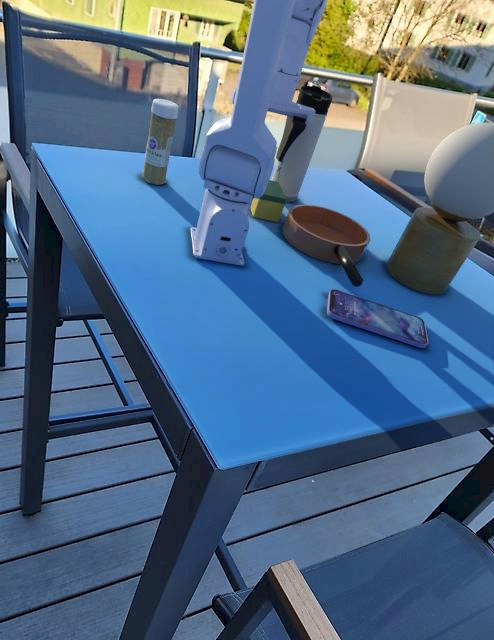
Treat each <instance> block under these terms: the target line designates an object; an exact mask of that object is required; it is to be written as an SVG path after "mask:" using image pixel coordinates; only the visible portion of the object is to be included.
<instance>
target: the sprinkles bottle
mask: <svg viewBox="0 0 494 640" xmlns="http://www.w3.org/2000/svg"><path fill="white" fill-rule="evenodd" d="M150 109H151V110H150V111H151V118H150V124H149V131H148V138H147V142H146V147H145V153H144V155H145V156H144V164H143V171H142V174H141V178H142V180H144V181H145V182H146V183H148V184H152V185H159V186H160V185H164V184H165V183H166V181H167V171H168V168H169V167H168V166H169V163H170V157H171V151H172V147H173V139H174V131H175V127H176V121H177V119H178V116H179V109H180V106H179V105H178V103H175V102H173V101H172V100H168V99H164V98H154V99H152V102H151V108H150Z"/></svg>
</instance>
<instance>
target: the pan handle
mask: <svg viewBox="0 0 494 640" xmlns="http://www.w3.org/2000/svg"><path fill="white" fill-rule="evenodd" d="M334 253H335V254H336V256H337V258H338V260H339V262H340V264H339V265H341V267H342V270H343V271H344V273H345V275H346V276H347V278H348V280H349V282H350V283H351V286H352V287H355V288H358V287H360V286H362V285H363V283H364V278H363V276H362V275H361V273H360V271H359V270H358V269H359V268H358V267H357V266H356V264H355V263H354V262H353V261H352V259H351V257H350V256H349V254H348V252H347V251H346V249H345V247H344V246H343V245H341V244H340V245H337V246H336V247H335V248H334Z"/></svg>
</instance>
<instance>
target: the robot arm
mask: <svg viewBox="0 0 494 640" xmlns="http://www.w3.org/2000/svg"><path fill="white" fill-rule="evenodd" d="M327 3H328V0H253V5H252V10H251V15H250V19H249V25H248V30H247V34H246V40H245V43H244V44H245V45H244V50H243V55H242V60H241V65H240V70H239V75H238V80H237V85H236V87H235V88H233V90H232V93H231V98H230V102H231V104H232V110H231V115H229V116H226V117H224V118H221V119H219V120H217V121H216V122H214V123H213V125H212V126H211V127H210V129H209V131H207V134H206V137H205V142H204V146H203V149H202V151H201V155H200V159H199V163H198V175H199V176H200V180H202V181H204V182H203V188H204V189H205V190H204V195H203V198H202V203H201V207H200V211H199V215H198V220H197V224H196V227H195V226H191V227H190V238H191V245H192V255H193V257H194V258H196V259H201V260H208V261H211V262H212V261H213V262H218V263H223V264H224V263H225V264H231V265H235V266H245V259H244V255H243V248H244V246H245V242H246V239H247V235H248V233H249V229H250V221H249V213H250V211H251V209H250V207H251V204H252V201H253V199H254V198H256V199H258V198H259V197H262V196H263V194H264V192H265V190H266V187H267V185H268V182H269V180H271V176H272V174H273V173H272V172H273V171H274V170H273V169H274V165H275V161H280V162H282V160H283V158H284V156H285V154H286V152H287V151H288V149H289V148H290V146H291V145H292V144H293V142H294V141H295V140H296V139H297V137H298V136H299V135H300V134H301V133H302V132H303V131H304V130H305V128H306V123H305V122H309V123H312V120H313V117H314V114H315V110H314V109H313V108H310V107H307V106H303V105H300V104H297V103H296V102H294V101H293V100H294V97H295V94H296V90H297V88H298V85H299V82H300V78H301V75H302V71H303V68H304V64H305V61H306V59H307V55H308V52H309V48H310V44H311V43H313V40H314V37H315V35H316V32H317V29H318V27H319V25H320V23H321V21H322V18H323V15H324V12H325V10H326V6H327ZM268 112H269V113H273V114H276V115H282V116H285V117H286V120H285V124H284V129H283V134H282V137H281V140H280V143H279V145H278V146H277V144H278V141H277V139H276V138H275V137H274V135H273V133H272V131H270V129H269V127H268V125H267V124H266V117H267V114H268Z"/></svg>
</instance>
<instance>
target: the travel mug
mask: <svg viewBox="0 0 494 640" xmlns="http://www.w3.org/2000/svg"><path fill="white" fill-rule="evenodd" d="M332 101H333V95H332V94H331V93H329V92H328V91H326V90H324V89H322V87H321V86H319V85H316V84H312V85H303V86H300V89H299V93H298V96H297V100H296V101H295V103H297V104H300V105H303V106H307V107H310V108H313V109H314V110H315V114H314V117H313V120H312V123H309V122H305V123H306V128H305V130H304V131H303V132H302V133H301V134H300V135H299V136H298V137H297V139H296V140H295V141H294V142H293V144H292V145H291V146H290V148H289V149H288V151H287V152H286V154H285V156H284V158H283V160H282V162H280V161H278V160H276V164H275V168H274V170H273V173H272V175H271V176H272V177H271V179H270V180H271V181H276V182H279V184H280V187H281V189H282V191H283V193H284V195H285V197H286V202H285V203H294V202H296V201H297V199H298V197H299V193H300V191H301V189H302V186H303V183H304V180H305V178H306V175H307V172H308V170H309V167H310V163H311V161H312V158H313V155H314V152H315V150H316V147H317V144H318V141H319V137H320V135H321V133H322V130H323V127H324V125H325V122H326V118H327V116H328V112H329V109H330V107H331V104H332Z"/></svg>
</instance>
